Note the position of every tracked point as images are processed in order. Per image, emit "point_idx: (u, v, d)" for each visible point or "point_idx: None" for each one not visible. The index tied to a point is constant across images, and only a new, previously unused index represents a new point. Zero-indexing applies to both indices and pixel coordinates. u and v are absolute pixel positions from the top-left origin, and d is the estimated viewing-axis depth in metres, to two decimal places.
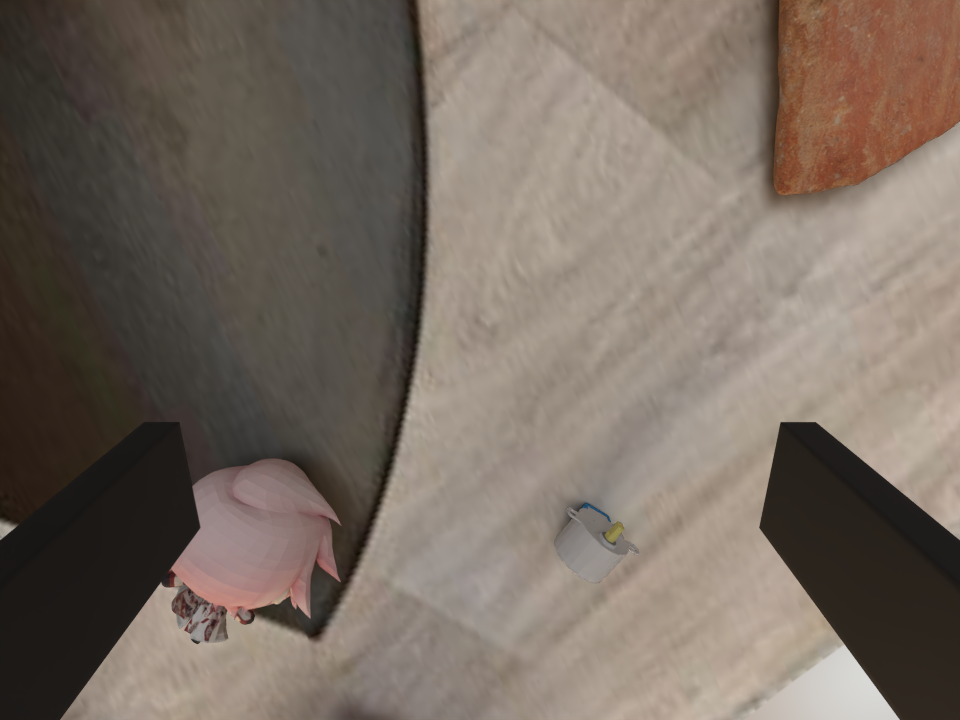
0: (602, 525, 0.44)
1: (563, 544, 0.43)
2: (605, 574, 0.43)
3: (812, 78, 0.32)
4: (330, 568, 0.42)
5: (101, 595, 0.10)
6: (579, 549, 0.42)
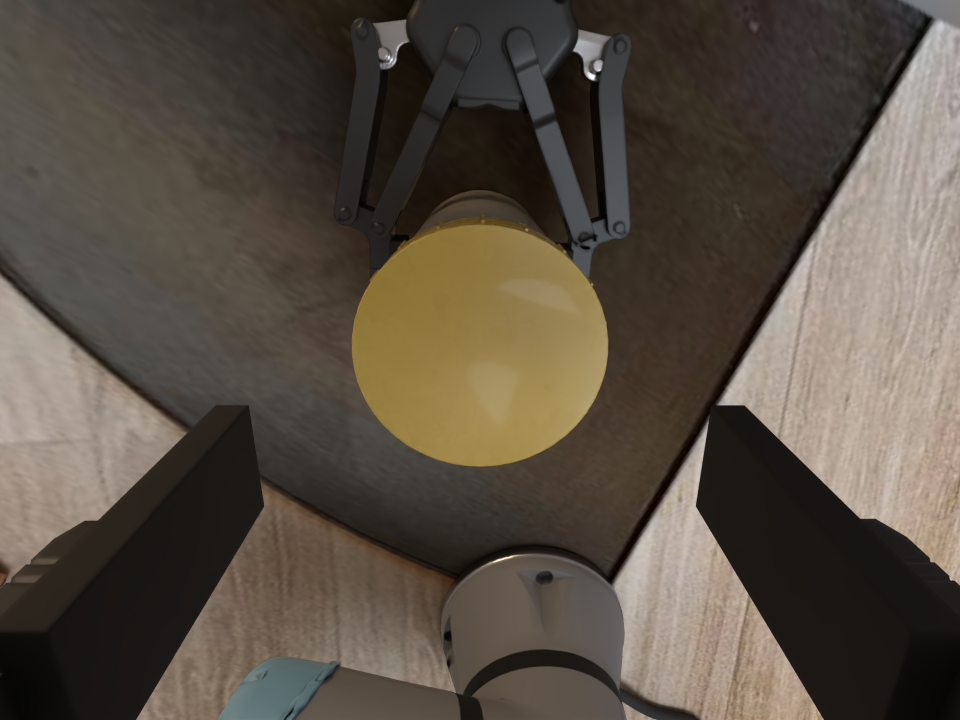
0: None
1: None
2: None
3: None
4: None
5: (193, 561, 0.11)
6: None
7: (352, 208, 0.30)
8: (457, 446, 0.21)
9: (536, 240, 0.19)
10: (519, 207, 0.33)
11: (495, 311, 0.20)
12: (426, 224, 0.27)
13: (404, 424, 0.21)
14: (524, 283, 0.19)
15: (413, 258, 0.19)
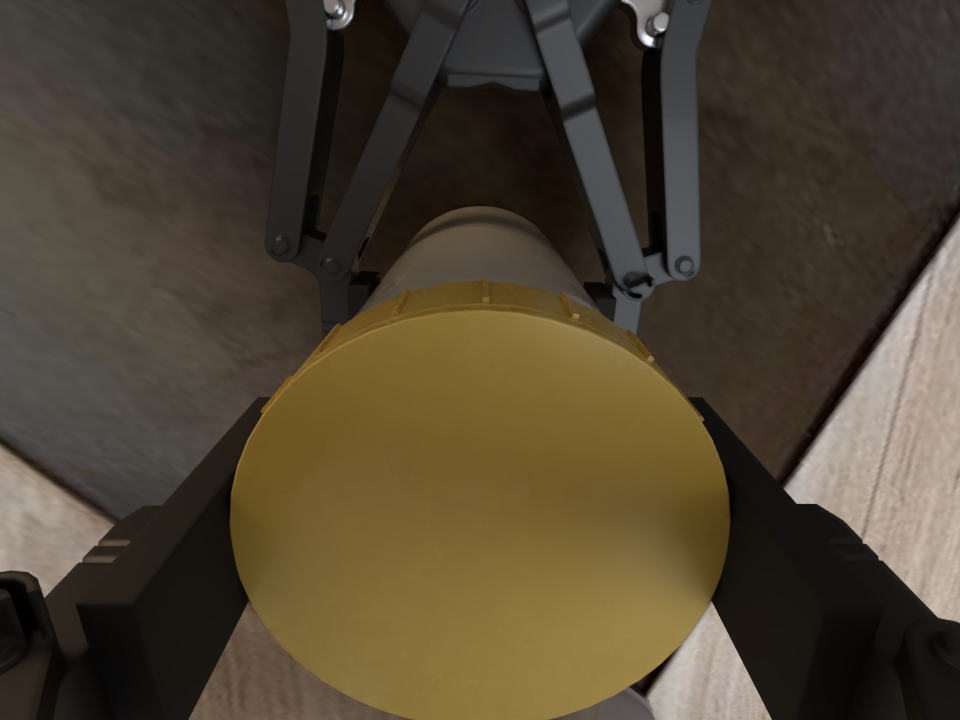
0: None
1: None
2: None
3: None
4: None
5: None
6: None
7: (292, 237, 0.21)
8: (438, 697, 0.12)
9: (597, 341, 0.09)
10: (535, 232, 0.24)
11: (510, 475, 0.10)
12: (396, 267, 0.18)
13: (339, 664, 0.11)
14: (570, 424, 0.10)
15: (342, 376, 0.09)
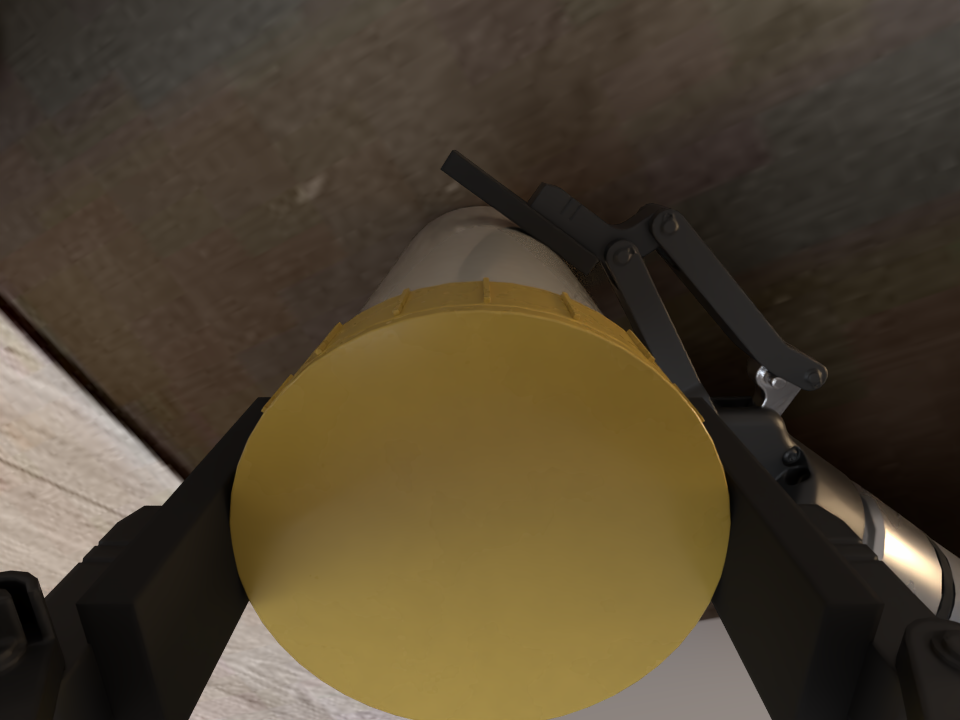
0: None
1: None
2: None
3: None
4: None
5: None
6: None
7: (667, 240, 0.21)
8: (437, 697, 0.12)
9: (598, 342, 0.09)
10: None
11: (511, 475, 0.10)
12: None
13: (338, 663, 0.11)
14: (570, 424, 0.10)
15: (343, 376, 0.09)
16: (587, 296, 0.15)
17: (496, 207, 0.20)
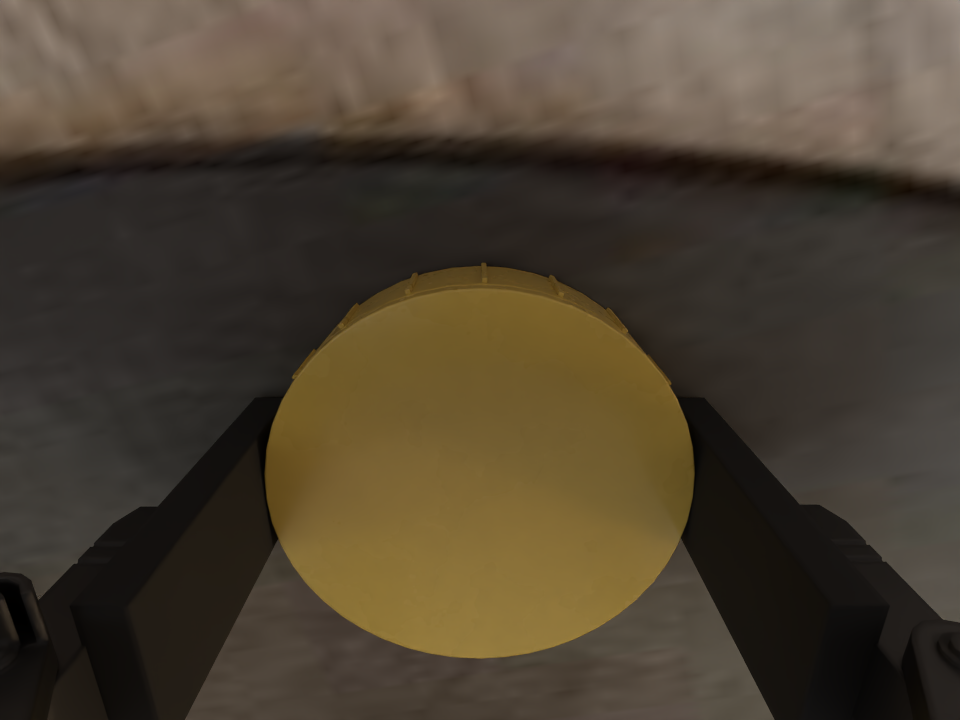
0: None
1: None
2: None
3: None
4: None
5: (242, 546, 0.11)
6: None
7: None
8: (443, 631, 0.13)
9: (579, 315, 0.11)
10: None
11: (506, 430, 0.12)
12: None
13: (357, 600, 0.13)
14: (556, 386, 0.11)
15: (363, 345, 0.11)
16: None
17: None
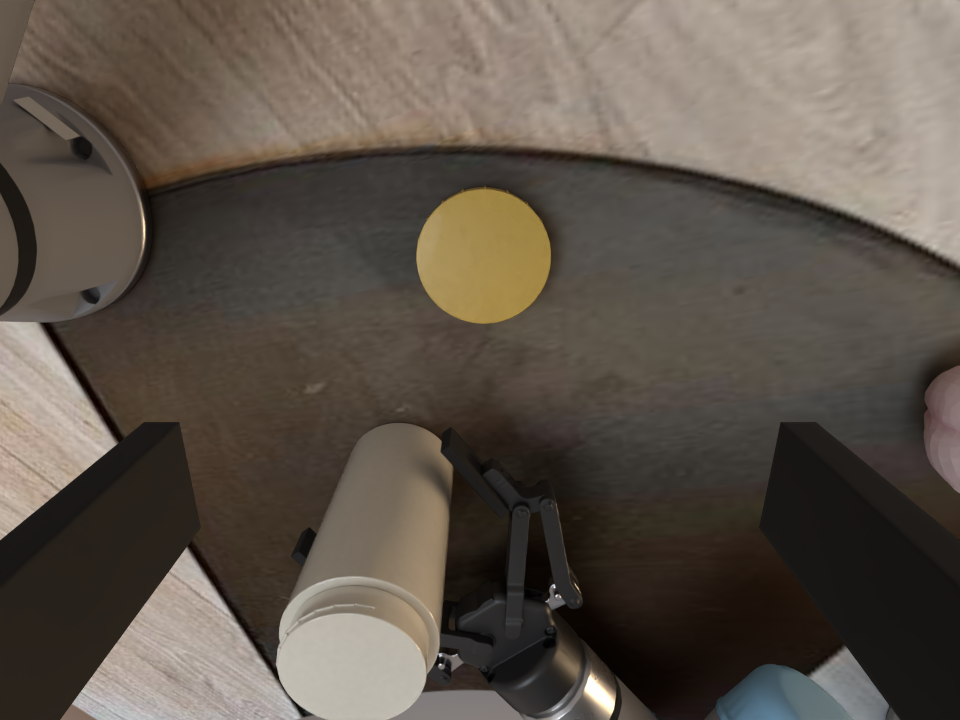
0: None
1: None
2: None
3: None
4: None
5: (101, 595, 0.10)
6: None
7: (544, 511, 0.39)
8: (471, 311, 0.40)
9: (512, 197, 0.37)
10: None
11: (491, 235, 0.38)
12: None
13: (443, 298, 0.39)
14: (506, 220, 0.38)
15: (449, 206, 0.37)
16: (433, 557, 0.33)
17: (463, 476, 0.38)
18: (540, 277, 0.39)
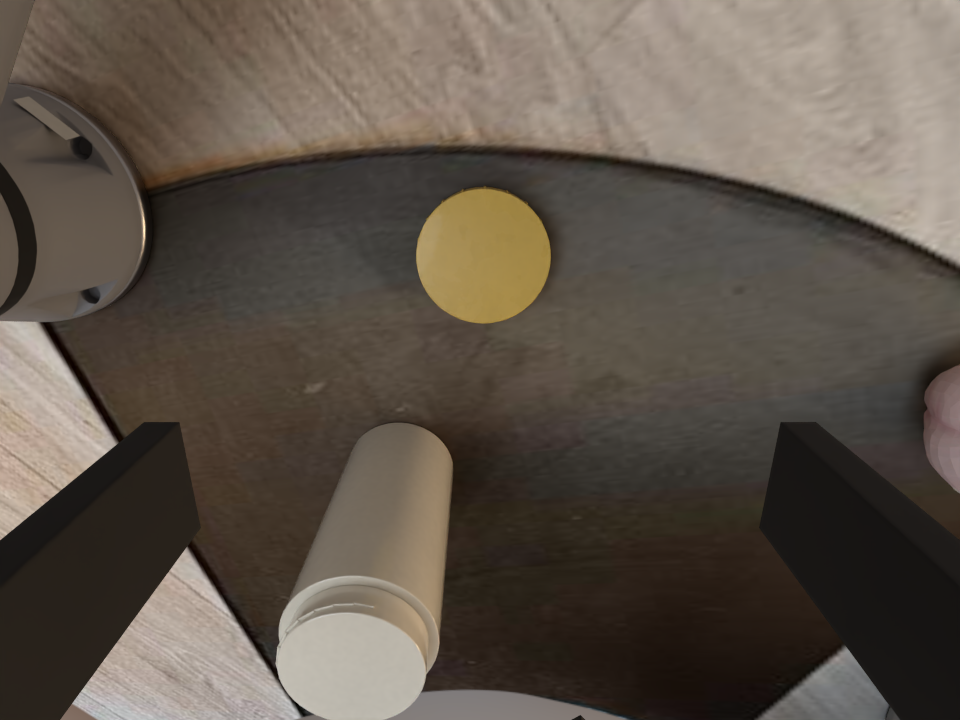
0: None
1: None
2: None
3: None
4: None
5: (101, 595, 0.10)
6: None
7: None
8: (471, 311, 0.40)
9: (512, 197, 0.37)
10: None
11: (491, 234, 0.38)
12: None
13: (442, 298, 0.39)
14: (506, 219, 0.38)
15: (449, 206, 0.37)
16: (432, 556, 0.33)
17: None
18: (540, 277, 0.39)
